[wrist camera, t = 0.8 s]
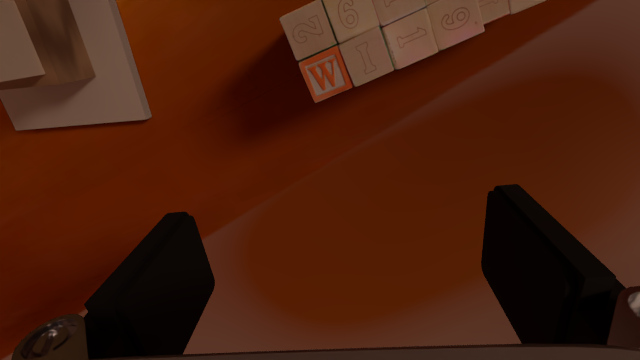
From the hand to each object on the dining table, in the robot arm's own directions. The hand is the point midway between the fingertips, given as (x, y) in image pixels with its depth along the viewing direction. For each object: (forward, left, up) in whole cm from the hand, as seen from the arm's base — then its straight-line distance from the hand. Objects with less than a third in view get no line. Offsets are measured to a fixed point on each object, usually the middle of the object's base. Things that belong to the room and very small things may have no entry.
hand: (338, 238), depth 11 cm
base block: (-8, -30, -27) cm, 41 cm away
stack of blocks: (-7, +7, -28) cm, 30 cm away
